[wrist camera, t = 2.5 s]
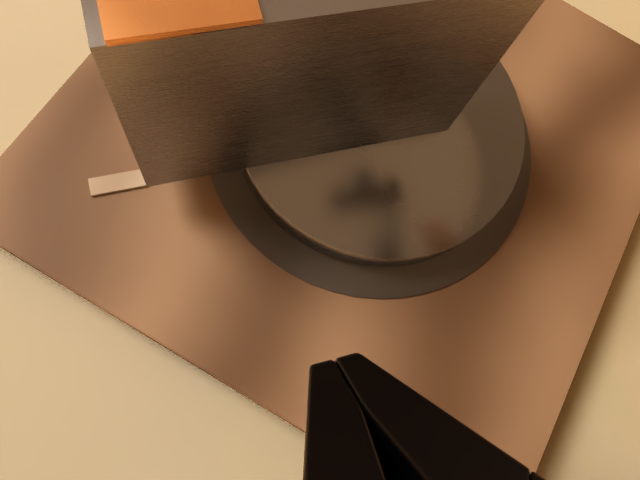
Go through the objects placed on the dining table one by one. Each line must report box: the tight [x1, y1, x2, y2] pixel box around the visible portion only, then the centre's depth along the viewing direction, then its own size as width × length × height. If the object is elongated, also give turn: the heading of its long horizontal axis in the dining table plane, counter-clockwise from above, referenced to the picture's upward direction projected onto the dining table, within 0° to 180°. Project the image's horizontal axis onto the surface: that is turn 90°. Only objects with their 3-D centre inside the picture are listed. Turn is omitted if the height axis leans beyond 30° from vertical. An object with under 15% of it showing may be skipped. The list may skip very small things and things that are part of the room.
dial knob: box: [81, 0, 545, 267], centre depth 16 cm, size 13×10×8 cm
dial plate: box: [0, 0, 640, 473], centre depth 21 cm, size 20×20×2 cm
